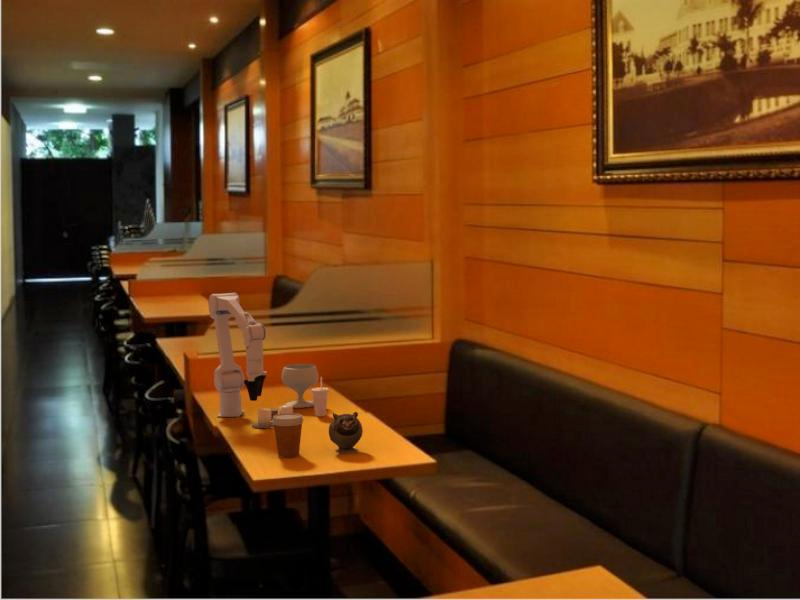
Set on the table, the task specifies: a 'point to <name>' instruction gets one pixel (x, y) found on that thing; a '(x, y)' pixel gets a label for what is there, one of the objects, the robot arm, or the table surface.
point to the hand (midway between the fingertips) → (255, 398)
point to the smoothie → (320, 399)
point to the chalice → (300, 381)
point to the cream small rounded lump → (286, 409)
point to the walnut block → (273, 412)
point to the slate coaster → (262, 426)
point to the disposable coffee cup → (288, 433)
